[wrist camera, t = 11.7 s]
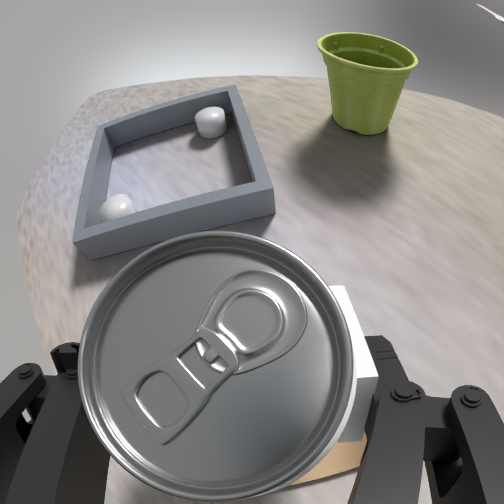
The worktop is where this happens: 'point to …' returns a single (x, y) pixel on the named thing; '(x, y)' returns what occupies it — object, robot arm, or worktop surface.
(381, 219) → the worktop surface
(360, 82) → the plant pot
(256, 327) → the can
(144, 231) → the tray
